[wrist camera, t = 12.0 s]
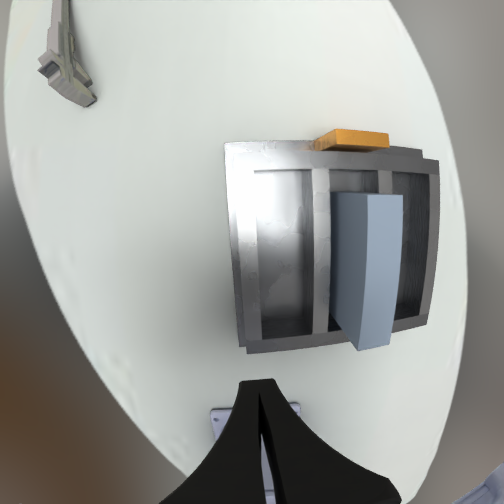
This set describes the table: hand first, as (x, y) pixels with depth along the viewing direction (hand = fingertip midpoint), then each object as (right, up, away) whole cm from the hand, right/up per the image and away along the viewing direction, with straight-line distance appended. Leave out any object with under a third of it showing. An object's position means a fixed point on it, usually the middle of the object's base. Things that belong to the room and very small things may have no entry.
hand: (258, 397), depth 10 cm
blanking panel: (+6, +6, +8) cm, 12 cm away
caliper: (-16, +26, +3) cm, 31 cm away
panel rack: (+6, +6, +9) cm, 12 cm away
